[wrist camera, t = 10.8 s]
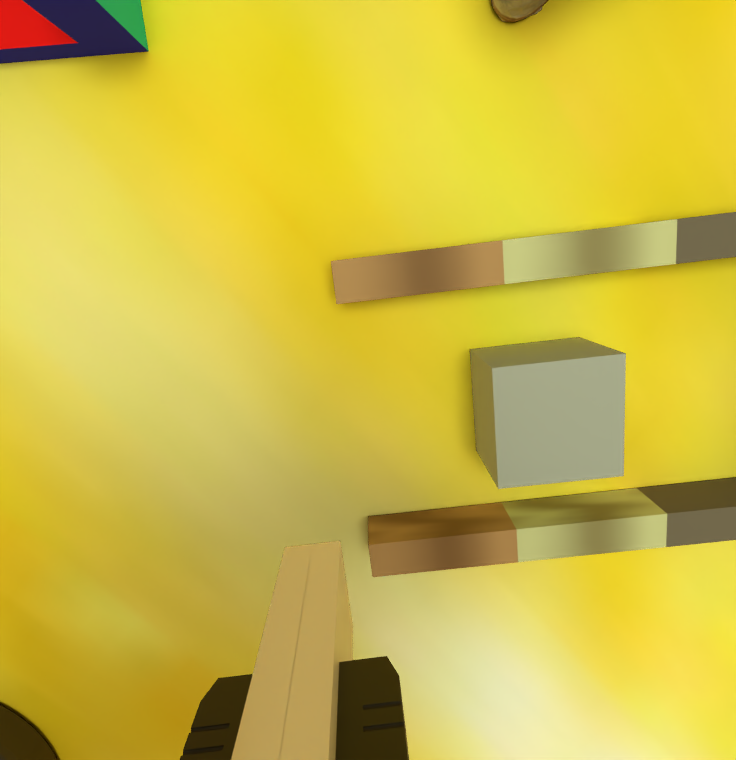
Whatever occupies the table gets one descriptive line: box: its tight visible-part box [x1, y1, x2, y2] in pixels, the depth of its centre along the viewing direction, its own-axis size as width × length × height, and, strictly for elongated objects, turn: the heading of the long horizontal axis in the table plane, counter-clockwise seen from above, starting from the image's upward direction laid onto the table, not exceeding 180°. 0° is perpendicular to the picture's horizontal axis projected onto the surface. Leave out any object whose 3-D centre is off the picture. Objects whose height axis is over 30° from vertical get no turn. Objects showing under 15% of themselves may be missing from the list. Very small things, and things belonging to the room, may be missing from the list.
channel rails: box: [331, 219, 677, 577], centre depth 26 cm, size 16×17×3 cm
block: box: [470, 337, 626, 489], centre depth 25 cm, size 6×6×5 cm
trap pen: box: [637, 212, 736, 547], centre depth 25 cm, size 8×17×3 cm, turn 7°
